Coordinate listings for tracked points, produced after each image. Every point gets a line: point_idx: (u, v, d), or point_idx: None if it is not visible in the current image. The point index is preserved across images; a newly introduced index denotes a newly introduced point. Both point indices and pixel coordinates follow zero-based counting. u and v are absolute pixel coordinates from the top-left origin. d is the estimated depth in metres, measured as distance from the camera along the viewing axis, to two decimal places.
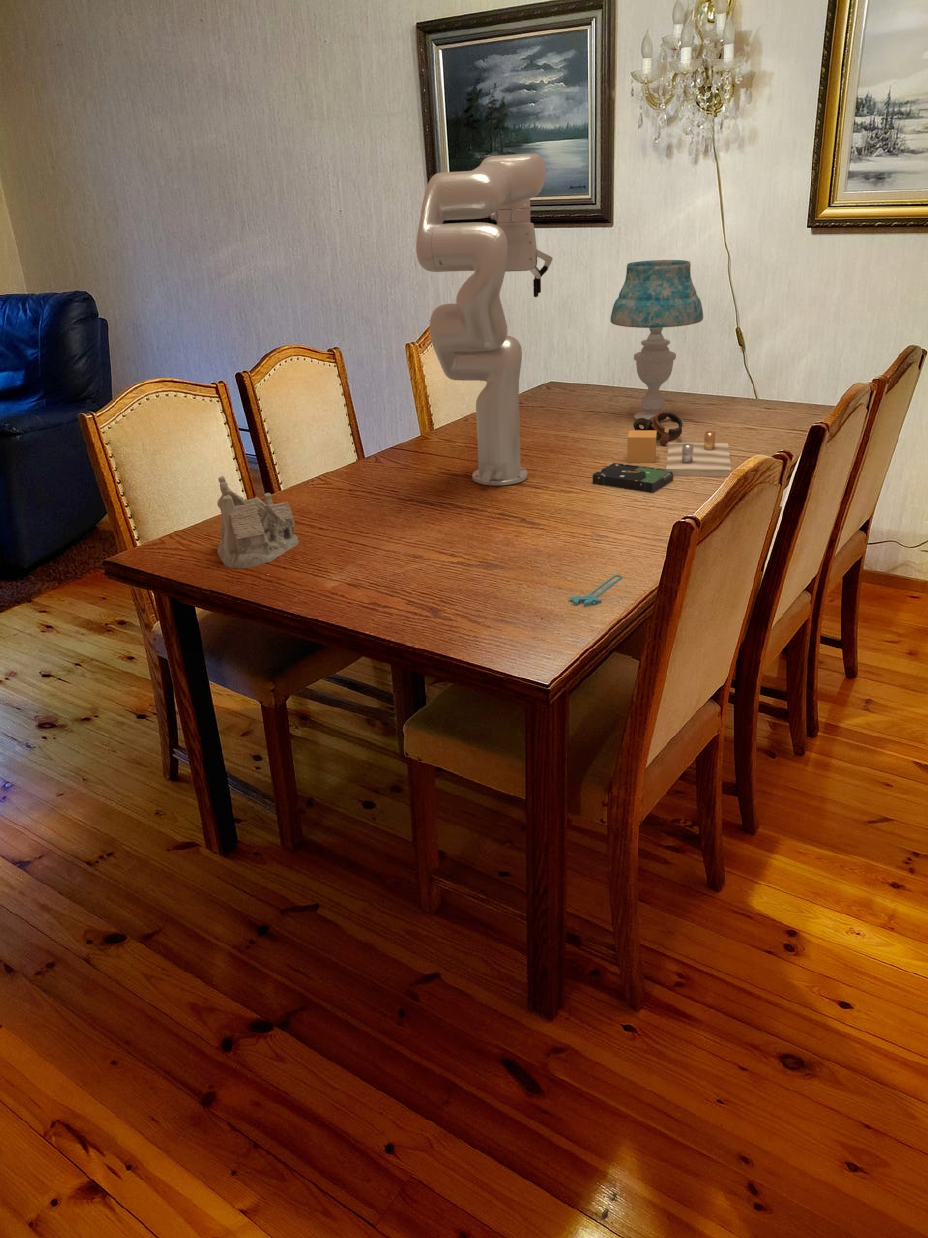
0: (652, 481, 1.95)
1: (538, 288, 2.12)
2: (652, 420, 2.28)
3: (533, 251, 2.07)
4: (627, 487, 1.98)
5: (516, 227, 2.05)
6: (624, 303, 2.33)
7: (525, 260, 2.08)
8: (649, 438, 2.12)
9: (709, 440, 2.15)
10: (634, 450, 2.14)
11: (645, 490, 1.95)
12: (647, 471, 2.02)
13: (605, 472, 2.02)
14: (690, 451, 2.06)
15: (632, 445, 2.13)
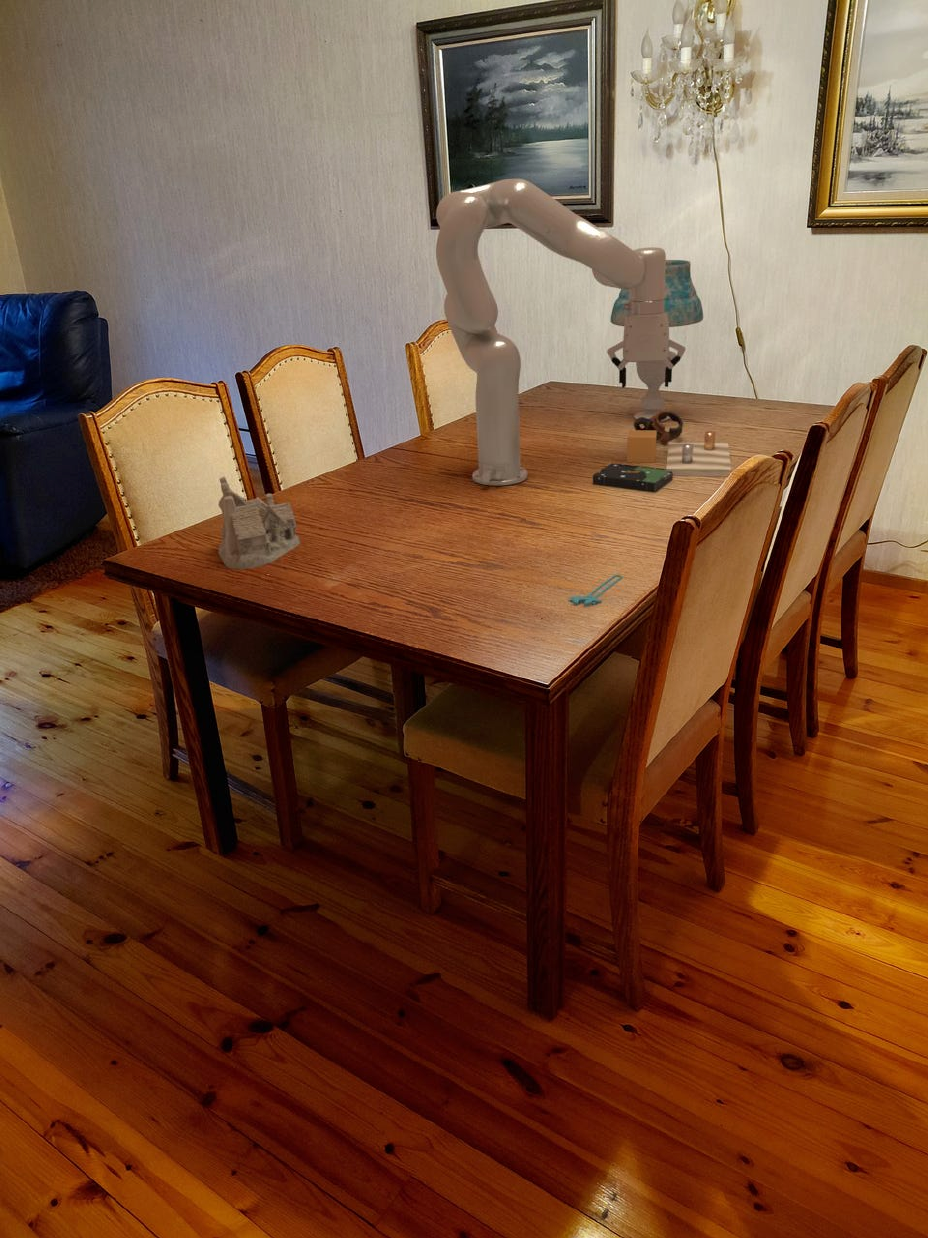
0: (654, 481, 1.95)
1: (670, 378, 2.08)
2: (652, 419, 2.28)
3: (667, 342, 2.03)
4: (628, 487, 1.98)
5: (651, 319, 2.01)
6: None
7: (658, 351, 2.04)
8: (649, 438, 2.12)
9: (709, 440, 2.15)
10: (634, 450, 2.14)
11: (647, 490, 1.95)
12: (646, 471, 2.02)
13: (605, 472, 2.02)
14: (690, 451, 2.06)
15: (632, 445, 2.13)
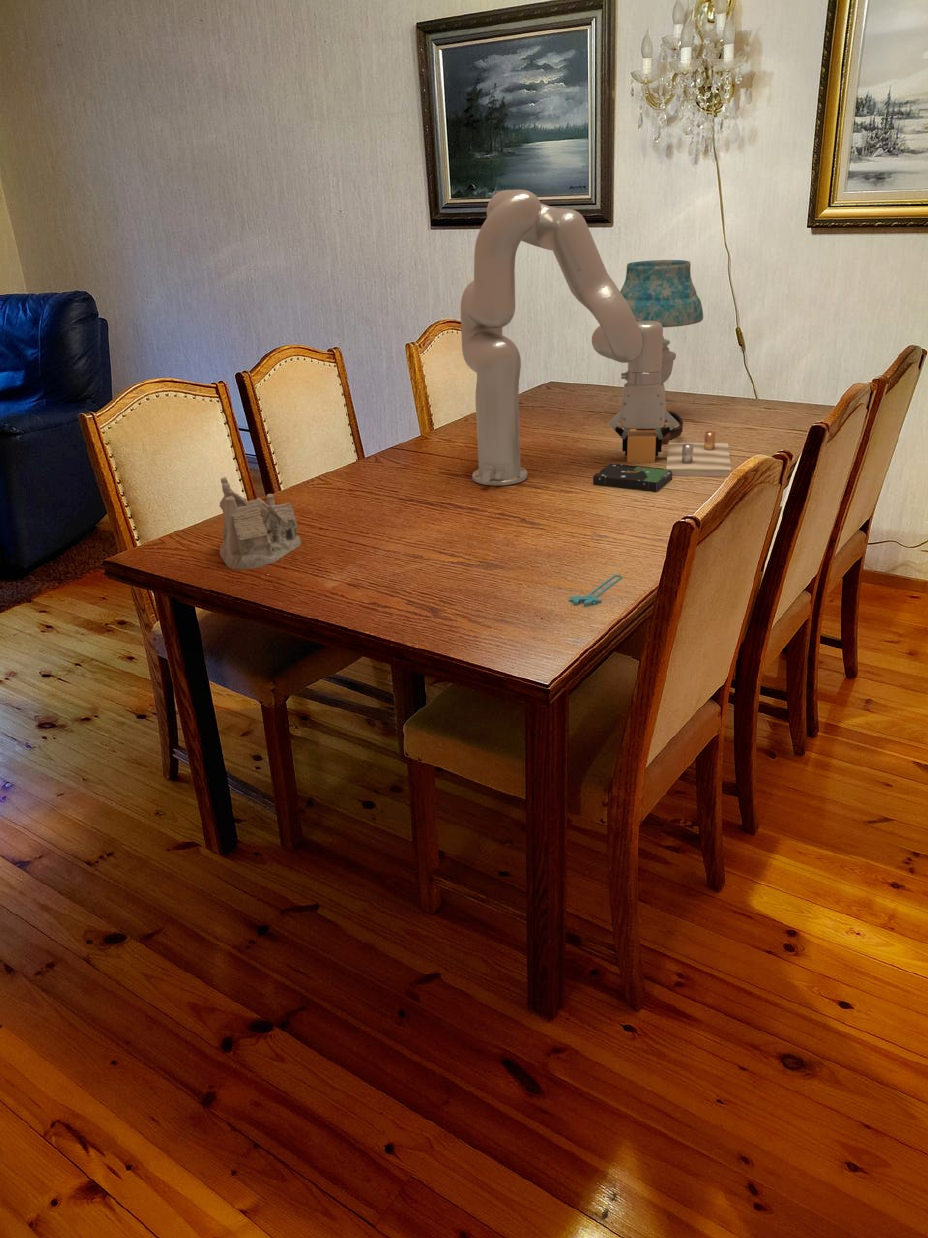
0: (655, 480, 1.95)
1: (659, 448, 2.15)
2: None
3: (663, 411, 2.09)
4: (629, 487, 1.98)
5: (648, 389, 2.08)
6: None
7: (655, 420, 2.10)
8: (649, 438, 2.12)
9: (709, 440, 2.15)
10: (634, 451, 2.14)
11: (648, 489, 1.96)
12: (646, 470, 2.02)
13: (605, 473, 2.02)
14: (690, 451, 2.06)
15: (632, 445, 2.13)
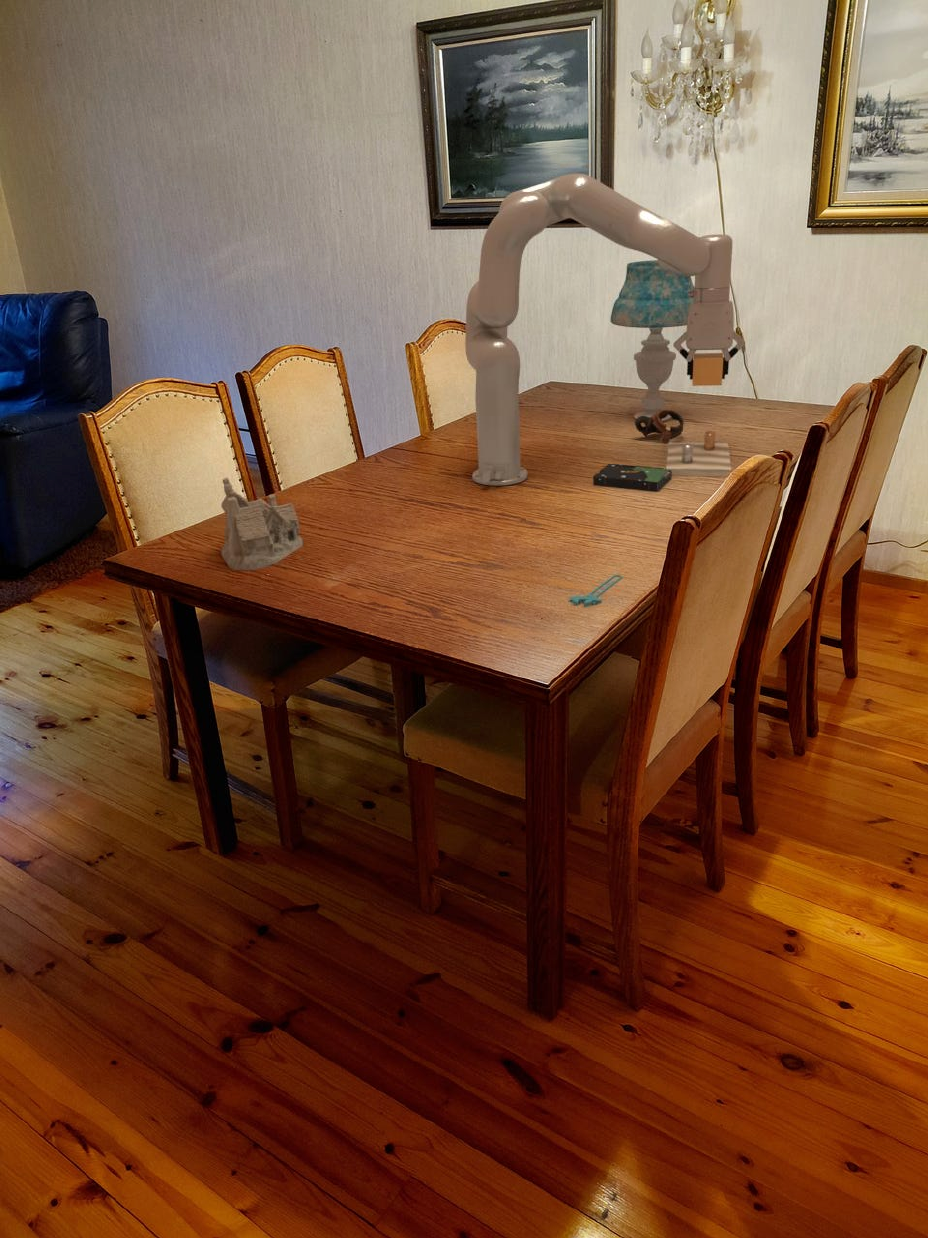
0: (656, 480, 1.96)
1: (726, 370, 2.07)
2: (653, 418, 2.29)
3: (732, 330, 2.02)
4: (630, 487, 1.98)
5: (716, 306, 2.00)
6: (624, 303, 2.33)
7: (723, 339, 2.02)
8: (716, 359, 2.04)
9: (709, 440, 2.15)
10: (700, 373, 2.06)
11: (649, 489, 1.96)
12: (646, 470, 2.02)
13: (605, 473, 2.02)
14: (690, 451, 2.06)
15: (698, 367, 2.06)
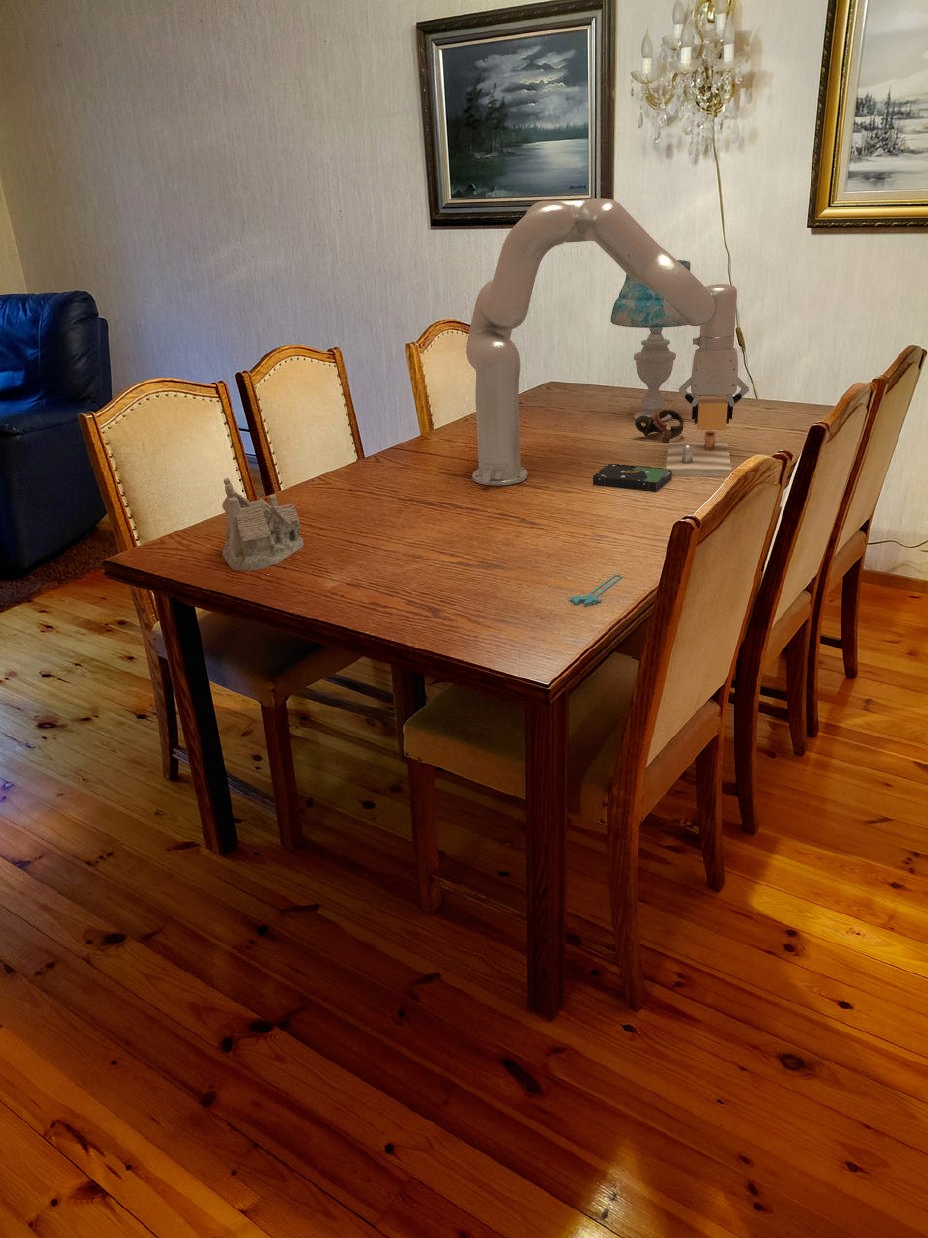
0: (655, 480, 1.95)
1: (730, 415, 2.11)
2: (654, 417, 2.30)
3: (736, 377, 2.06)
4: (629, 487, 1.98)
5: (721, 354, 2.04)
6: (624, 303, 2.33)
7: (727, 386, 2.07)
8: (721, 404, 2.09)
9: (709, 440, 2.15)
10: (705, 418, 2.11)
11: (648, 489, 1.96)
12: (646, 470, 2.02)
13: (605, 473, 2.02)
14: (690, 451, 2.06)
15: (703, 412, 2.10)
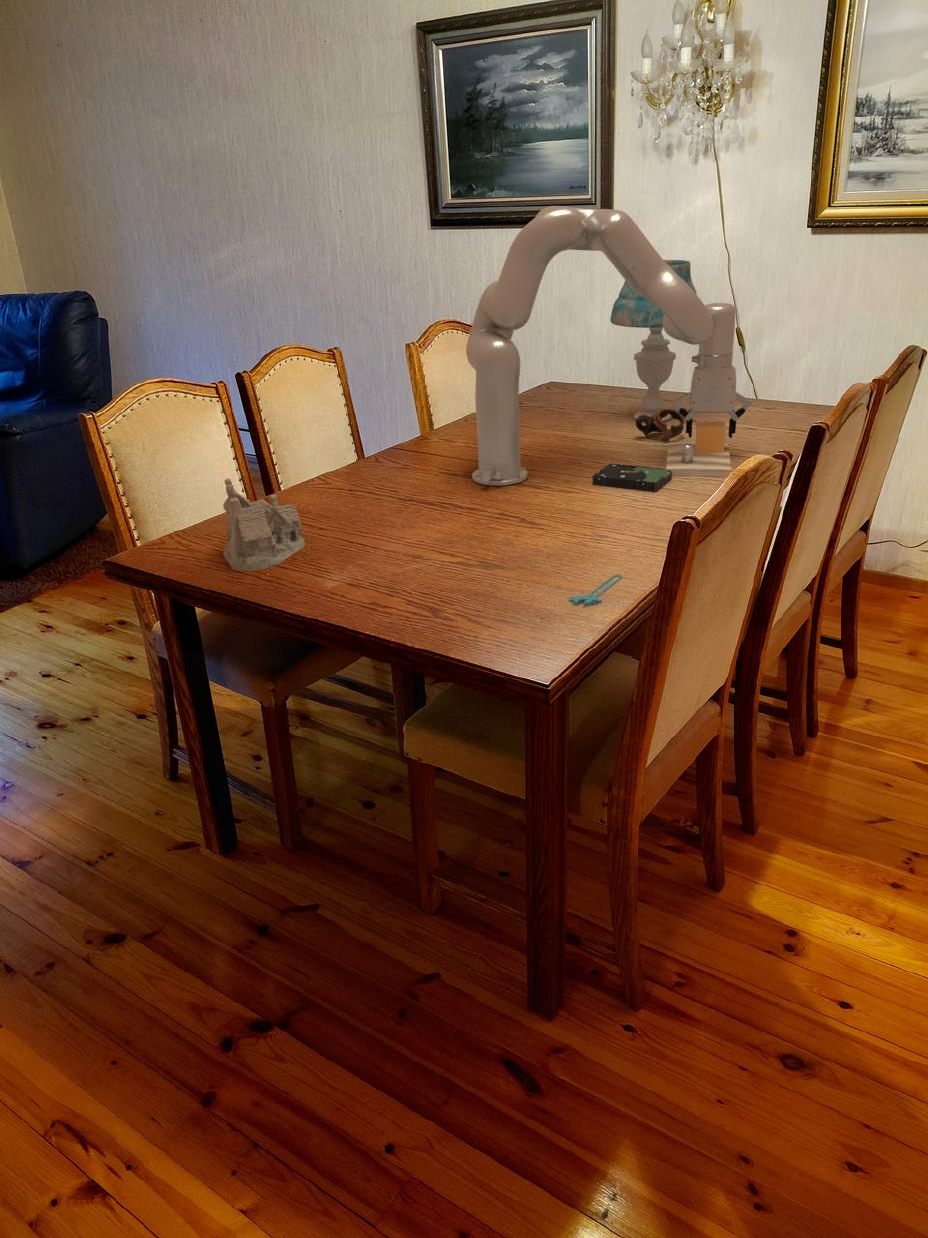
0: (654, 480, 1.95)
1: (734, 429, 2.13)
2: (654, 417, 2.30)
3: (734, 395, 2.08)
4: (629, 487, 1.98)
5: (719, 372, 2.06)
6: (624, 303, 2.33)
7: (725, 403, 2.09)
8: (718, 428, 2.11)
9: None
10: (703, 441, 2.13)
11: (647, 490, 1.96)
12: (646, 470, 2.02)
13: (604, 473, 2.02)
14: (690, 451, 2.06)
15: (701, 435, 2.12)
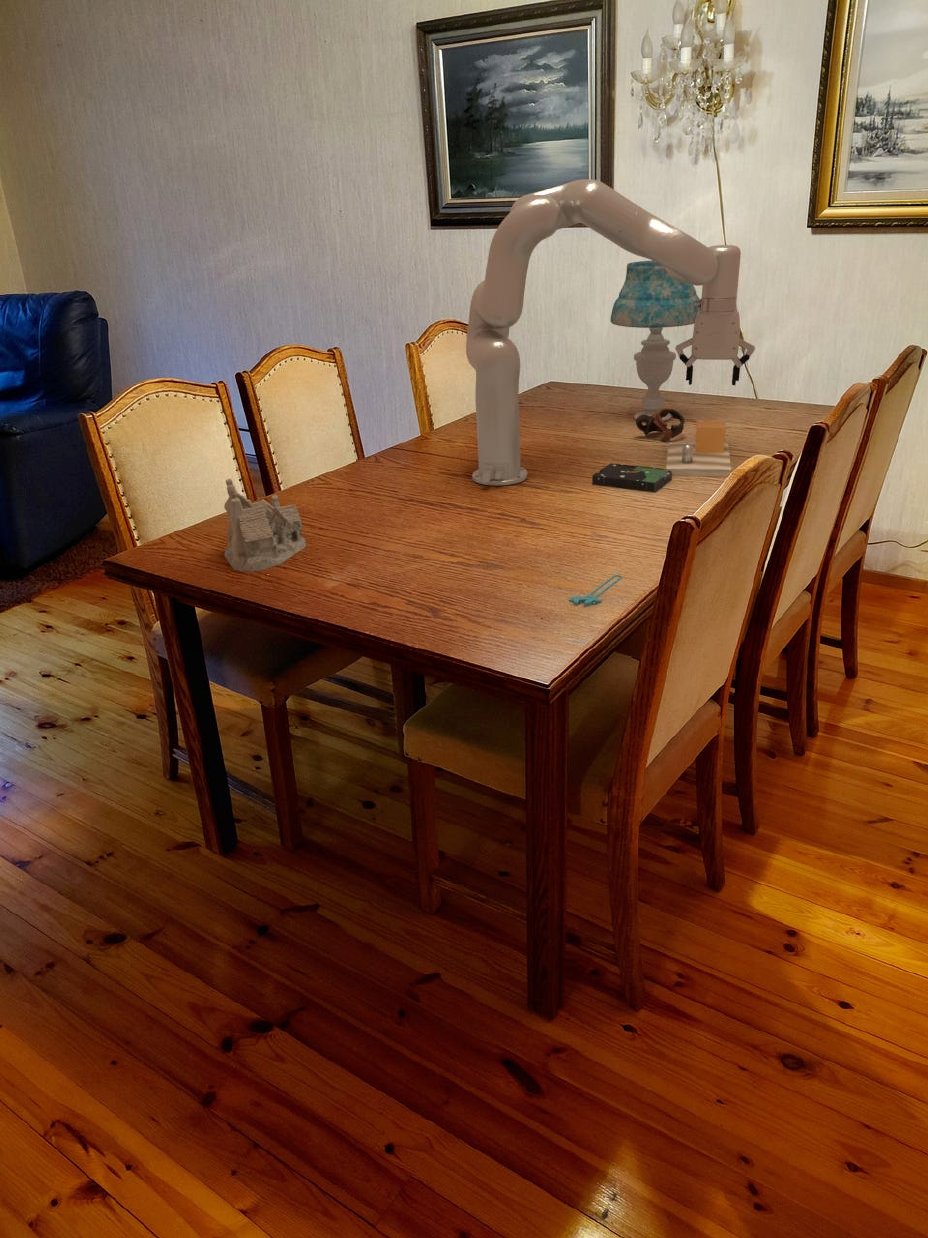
0: (653, 481, 1.95)
1: (737, 376, 2.07)
2: (654, 417, 2.30)
3: (737, 340, 2.02)
4: (628, 487, 1.98)
5: (723, 316, 2.01)
6: (624, 303, 2.33)
7: (728, 349, 2.03)
8: (718, 428, 2.11)
9: None
10: (703, 441, 2.13)
11: (647, 490, 1.95)
12: (646, 470, 2.02)
13: (604, 473, 2.02)
14: (690, 451, 2.06)
15: (701, 435, 2.12)
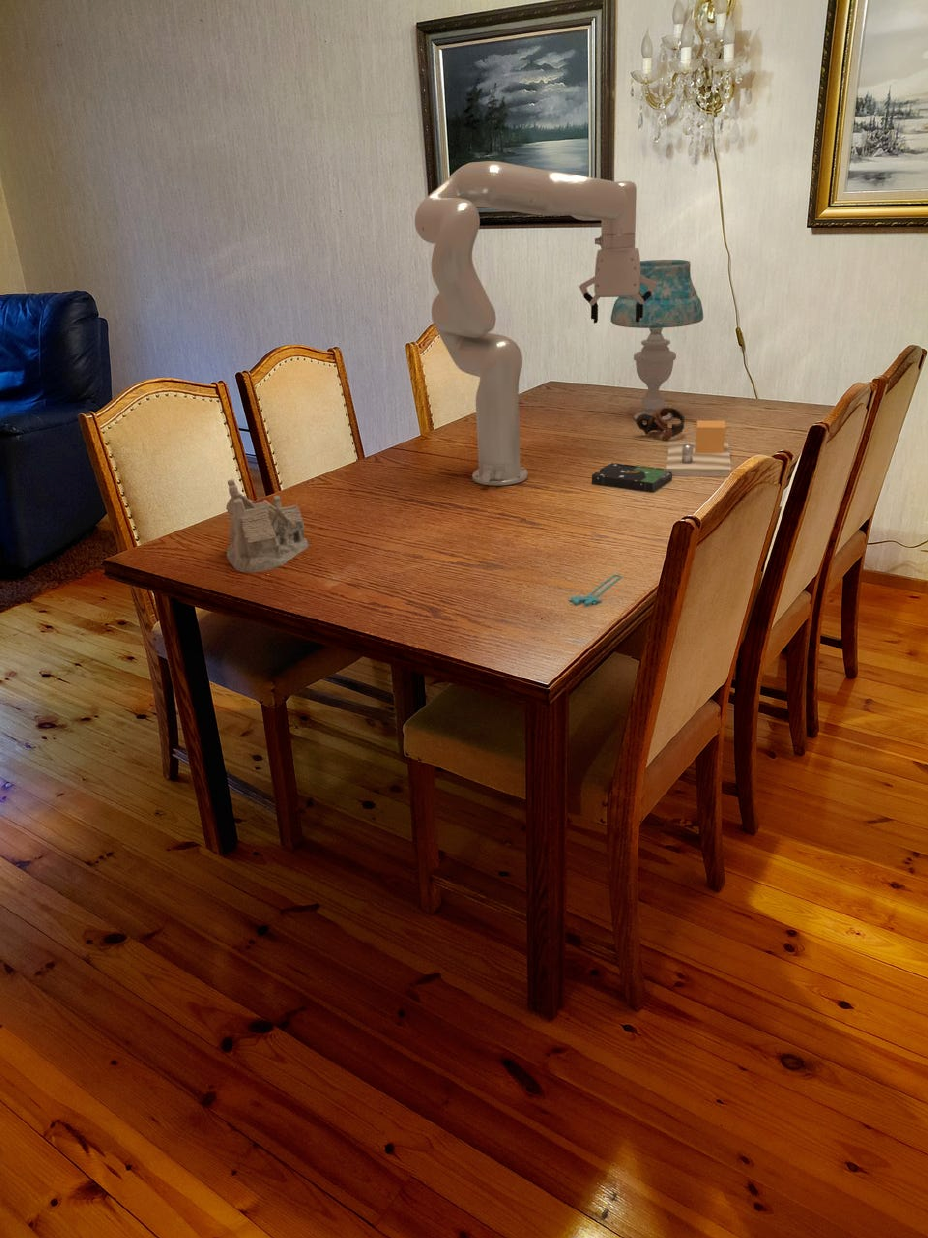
0: (652, 481, 1.95)
1: (640, 313, 2.09)
2: (655, 416, 2.31)
3: (638, 277, 2.05)
4: (627, 487, 1.98)
5: (622, 253, 2.03)
6: (624, 303, 2.33)
7: (629, 286, 2.05)
8: (718, 428, 2.11)
9: None
10: (703, 441, 2.13)
11: (645, 490, 1.95)
12: (646, 471, 2.02)
13: (604, 472, 2.02)
14: (690, 451, 2.06)
15: (701, 435, 2.12)
